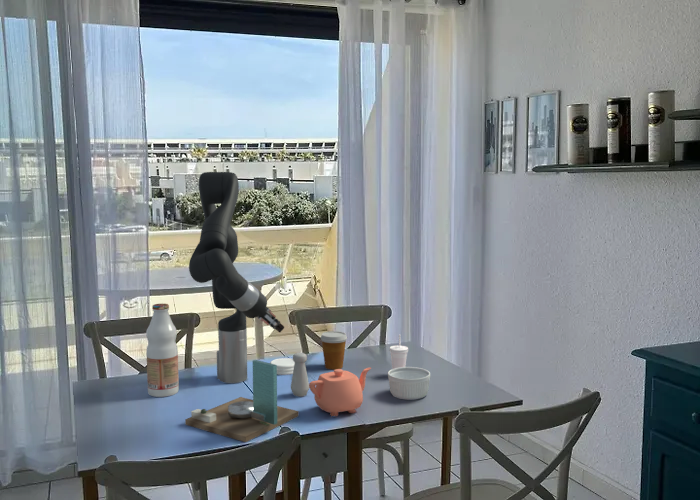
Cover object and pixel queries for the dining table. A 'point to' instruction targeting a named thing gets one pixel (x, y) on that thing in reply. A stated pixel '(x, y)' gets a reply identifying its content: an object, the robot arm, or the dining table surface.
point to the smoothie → (398, 355)
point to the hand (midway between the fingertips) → (281, 328)
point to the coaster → (284, 366)
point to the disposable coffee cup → (333, 349)
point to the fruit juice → (162, 354)
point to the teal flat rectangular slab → (259, 395)
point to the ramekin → (409, 382)
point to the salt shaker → (299, 376)
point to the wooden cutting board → (236, 421)
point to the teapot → (339, 391)
